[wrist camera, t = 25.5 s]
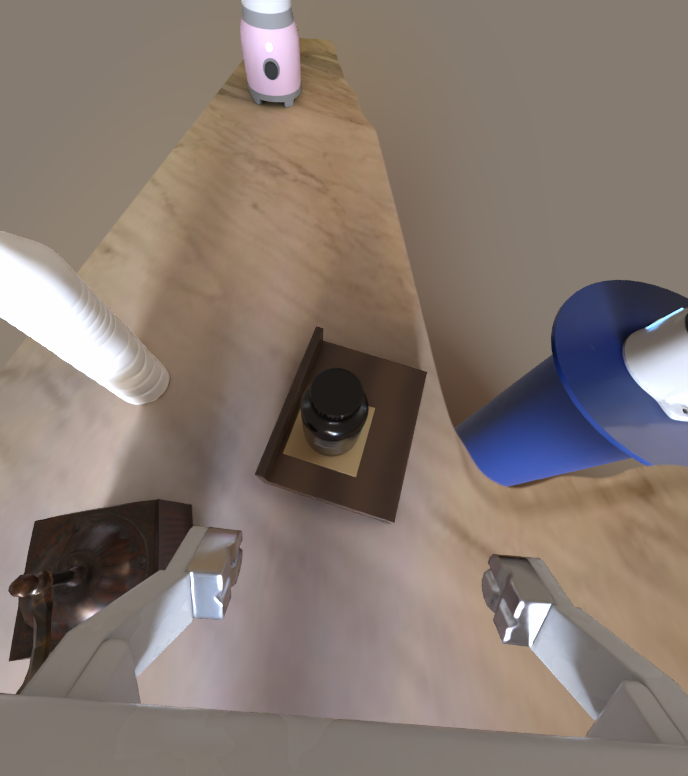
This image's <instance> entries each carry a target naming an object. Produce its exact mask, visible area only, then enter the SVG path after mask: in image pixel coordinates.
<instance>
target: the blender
mask: <svg viewBox="0 0 688 776" xmlns="http://www.w3.org/2000/svg"><path fill="white" fill-rule="evenodd" d="M241 1H242V17H241V24H240V38H241V44H242V51H243V58H244V64H245V70H246V76H247V84H248V89H249V92H250V93H251V94H252V96H253V100H254V102H255V103H257V104H259V105H260V104H261V100H264V101H269V102H284V105H285V107H286V108H287V107H291V106H293V100H294V99H295V98H296V97H298V96H299V95H300V93H301V90H302V88H301V70H300V44H299V34H298V30H297V26H296V23H295V20H294V18H293V13H292V9H291V0H241Z"/></svg>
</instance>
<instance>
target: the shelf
mask: <svg viewBox="0 0 688 776" xmlns="http://www.w3.org/2000/svg"><path fill="white" fill-rule="evenodd" d="M330 368H342V369H346V370H347V371H351V373H353V374H355V376H356V377H358V380H359V381H360V382H361V385H362V389H363V390H364V392H365V394H366V396H367V399H368V404H369V412H368V417H367V420H366V422H365V425H364V427H363V429H362V432H361V434H360V436H359V439H358V441H357V442H356V444H355V445H354V447H353V448H352V449H351V450H350V451H348V452H347V453H345V454H343V455H340V456H334V457H330V456H324V455H321V454H319V453H317V452H316V451H314V450H313V449H312V448H311V447H310V446H309V444H308V443H307V441H306V439H305V435H304V431H303V424H302V418H301V410H300V406H301V399H302V396H303V394H304V392H305V390H306V389H307V387H308V386H309V385H310V384H311V383H312V382H313V381H314V378H315V377H317V375H318V374H320V373H321V371H325V370H326V369H330ZM426 374H427V372H425V371H422V370H418V369H415V368H412V367H408V366H405V365H402V364H398V363H395V362H392V361H388V360H385V359H382V358H379V357H375V356H372V355H369V354H365V353H362V352H359V351H355V350H352V349H349V348H345V347H342V346H339V345H335V344H332V343H329V342H325V341H323V328H320V327H316V328H315V331H314V333H313V336H312V338H311V341H310V343H309V345H308V348H307V350H306V353H305V355H304V357H303V360H302V362H301V365H300V367H299V369H298V372H297V374H296V377H295V379H294V381H293V384H292V386H291V389H290V391H289V393H288V396H287V398H286V401H285V403H284V406H283V408H282V410H281V413H280V415H279V418H278V420H277V422H276V425H275V427H274V430H273V432H272V434H271V437H270V439H269V442H268V444H267V446H266V449H265V451H264V454H263V456H262V458H261V461H260V463H259V466H258V468H257V471H256V473H255V475H256V476H257V477H258V478H260V479H261V480H262V481H263V482H264V483H267V484H270V485H273V486H276V487H279V488H282V489H285V490H288V491H291V492H294V493H298V494H301V495H304V496H307V497H310V498H313V499H316V500H319V501H322V502H325V503H328V504H331V505H334V506H337V507H340V508H343V509H346V510H349V511H352V512H355V513H358V514H361V515H364V516H367V517H370V518H373V519H376V520H379V521H382V522H385V523H388V524H389V523H394V522H395V517H396V512H397V508H398V503H399V499H400V494H401V489H402V485H403V480H404V475H405V471H406V466H407V462H408V457H409V452H410V448H411V443H412V439H413V434H414V429H415V425H416V420H417V415H418V411H419V406H420V402H421V397H422V392H423V388H424V383H425V378H426Z"/></svg>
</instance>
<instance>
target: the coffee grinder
mask: <svg viewBox="0 0 688 776" xmlns="http://www.w3.org/2000/svg"><path fill="white" fill-rule="evenodd" d="M192 527H193V517H192V505H191V504H184V503H179V502H173V501H167V500H161V499H156V500H147V501H138V502H132V503H126V504H120V505H115V506H109V507H103V508H98V509H92V510H86V511H81V512H75V513H70V514H65V515H60V516H55V517H51V518H47V519H43V520H38V521H35V523H34V528H33V532H32V537H31V542H30V546H29V551H28V556H27V562H26V567H25V572H24V575H20V576H19V577H18V578H17V579H16V580H14V581H13V582H12V583H11V585H10V586H9V592H10V594H11V595H12V596H13V597H19V603H18V605H19V606H18V611H17V617H16V622H15V628H14V634H13V640H12V646H11V652H10V658H9V661H15V660H23V659H31V660H30V665H29V669H28V672H27V675H26V677H25V680H24V682H23V684H22V686H21V687H20V689H19V690H18V691H17V693H16V694H20V693H21V691H22V690H23V689H24V688H25V686H26V685H27V684H28V682H29V681H30V680H31V679H32V677H33V676H34V675H35V673H36V672H37V671H38V670H39V668H40V667H41V666H42V664H43V663H44V662H45V661H46V659H47V658H48V657H49V655H50V654H51V653H52V651H53V650H54V649H55V648H56V646H57V645H58V644H59V642H60V641H61V640H62V639H63V637H64V636H65V635H66V633H67V632H69V631H70V630H72V629H73V628H75V627H76V626H78V625H79V624H81V623H82V622H84V621H85V620H86V619H88V618H89V617H91V616H92V615H94V614H95V613H97V612H98V611H100V610H101V609H103V608H104V607H106V606H107V605H109V604H110V603H112V602H113V601H115V600H116V599H118V598H119V597H121V596H122V595H124V594H125V593H127V592H128V591H130V590H131V589H132V588H134V587H135V586H137V585H138V584H140V583H141V582H143V581H144V580H146V579H147V578H149V577H150V576H152V575H153V574H155V573H156V572H158V571H159V570H166V568H167V566H168V565H169V563H170V561H171V560H172V558H173V556H174V555H175V553H176V551H177V550H178V548H179V546H180V545H181V543H182V542H183V540H184V538H185V537H186V535H187V533H188V532H189V530H190V529H191V528H192Z"/></svg>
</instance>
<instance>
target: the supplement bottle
mask: <svg viewBox="0 0 688 776" xmlns="http://www.w3.org/2000/svg"><path fill="white" fill-rule="evenodd" d="M300 410H301V418H302V424H303V431H304V435H305V439H306V441H307V443H308V444H309V446H310V447H311V448H312V449H313V450H314V451H316V452H317V453H319V454H321V455H324V456H330V457H334V456H340V455H343V454H345V453H347V452H348V451H350V450H351V449H352V448H353V447H354V445H355V444H356V442H357V441H358V439H359V436H360V434H361V432H362V429H363V427H364V425H365V422H366V420H367V417H368V412H369V404H368V399H367V396H366V394H365V392H364V390H363V389H362V385H361V382H360V381H359V380H358V377H356V376H355V374H353V373H351V371H347V370H346V369H342V368H330V369H326V370H325V371H321V373H320V374H318V375H317V377H315V378H314V381H313V382H312V383H311V384H310V385H309V386H308V387H307V389H306V390H305V392H304V394H303V396H302V399H301V406H300Z"/></svg>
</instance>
